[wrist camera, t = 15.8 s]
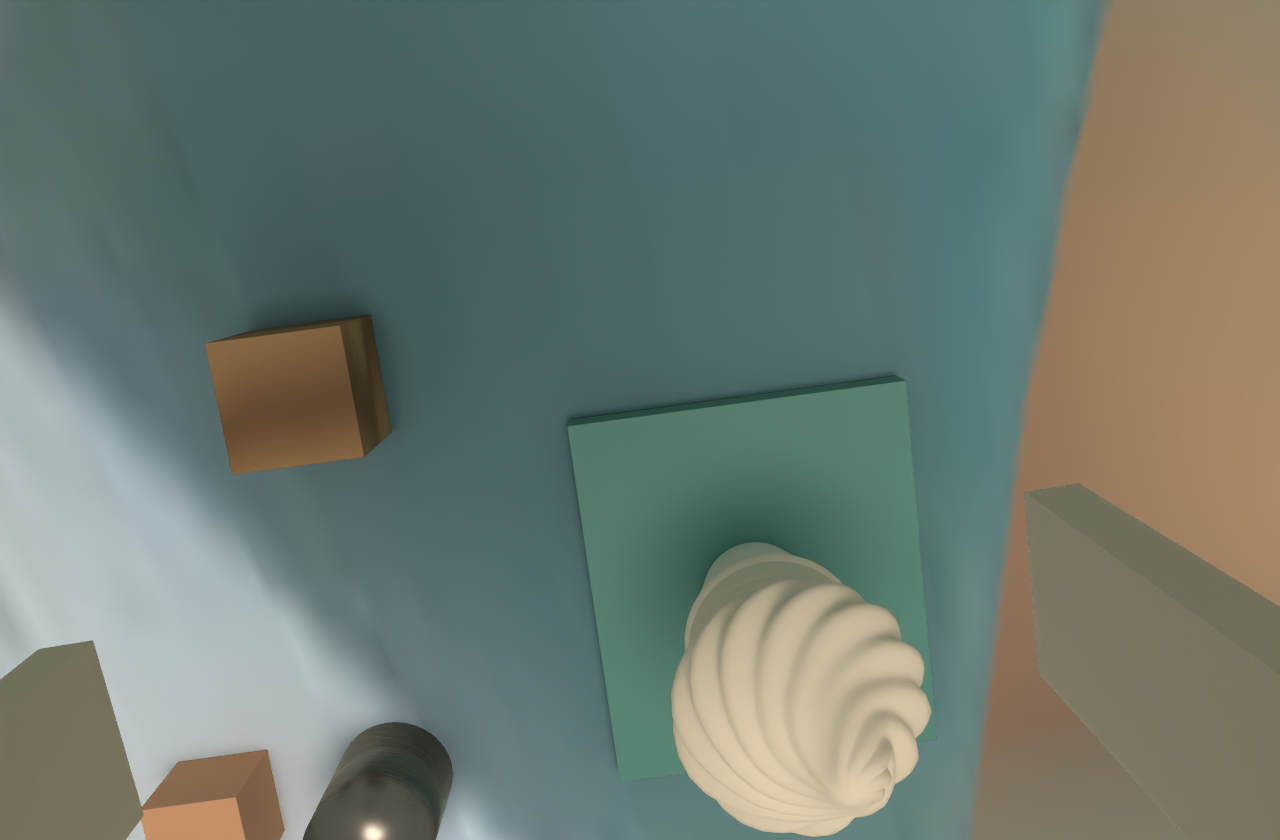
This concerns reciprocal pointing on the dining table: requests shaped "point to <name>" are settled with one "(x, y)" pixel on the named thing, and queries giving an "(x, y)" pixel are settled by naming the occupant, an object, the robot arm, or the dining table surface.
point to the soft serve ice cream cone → (794, 695)
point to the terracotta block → (216, 801)
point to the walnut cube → (299, 394)
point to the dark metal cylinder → (386, 788)
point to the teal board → (738, 526)
